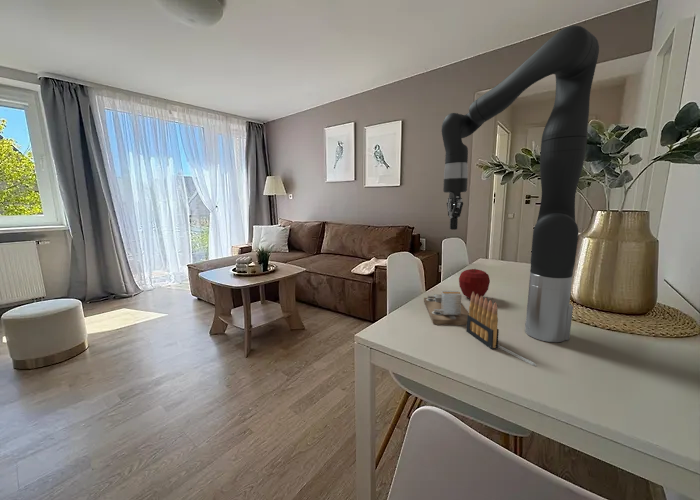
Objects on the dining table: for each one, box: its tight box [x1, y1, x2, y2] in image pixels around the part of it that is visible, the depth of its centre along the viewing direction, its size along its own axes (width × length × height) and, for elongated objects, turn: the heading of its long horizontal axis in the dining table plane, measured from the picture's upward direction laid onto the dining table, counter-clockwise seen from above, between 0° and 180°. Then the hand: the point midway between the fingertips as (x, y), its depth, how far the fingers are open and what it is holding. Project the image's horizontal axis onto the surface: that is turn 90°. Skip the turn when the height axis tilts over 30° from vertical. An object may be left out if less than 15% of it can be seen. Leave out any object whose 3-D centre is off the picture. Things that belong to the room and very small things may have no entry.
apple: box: [458, 268, 491, 300], centre depth 109 cm, size 11×11×12 cm
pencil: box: [497, 344, 537, 367], centre depth 71 cm, size 1×1×15 cm
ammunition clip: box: [465, 292, 500, 350], centre depth 77 cm, size 11×2×12 cm, turn 12°
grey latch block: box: [434, 290, 462, 315], centre depth 90 cm, size 8×4×7 cm, turn 84°
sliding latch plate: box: [423, 294, 469, 326], centre depth 96 cm, size 12×20×3 cm, turn 174°
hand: (453, 229), depth 100 cm, fingers closed
